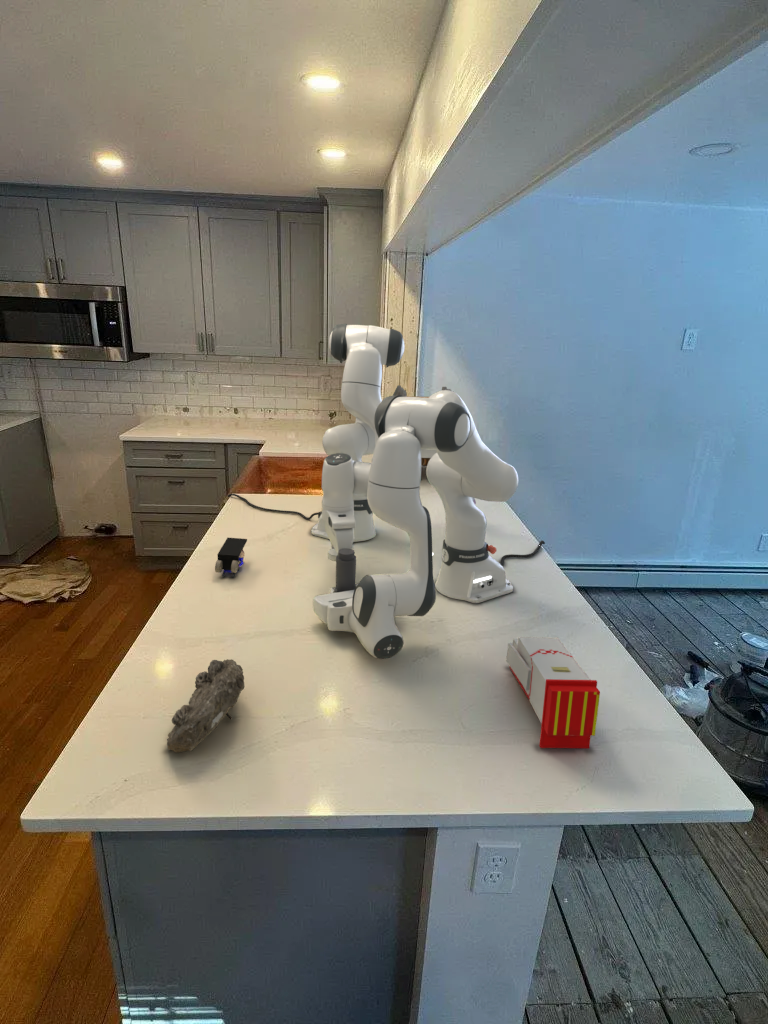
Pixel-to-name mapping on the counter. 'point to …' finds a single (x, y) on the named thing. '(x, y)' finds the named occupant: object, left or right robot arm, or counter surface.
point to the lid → (332, 554)
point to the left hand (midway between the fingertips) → (337, 558)
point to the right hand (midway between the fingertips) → (344, 587)
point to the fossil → (206, 705)
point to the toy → (555, 691)
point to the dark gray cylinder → (345, 570)
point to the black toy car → (230, 556)
